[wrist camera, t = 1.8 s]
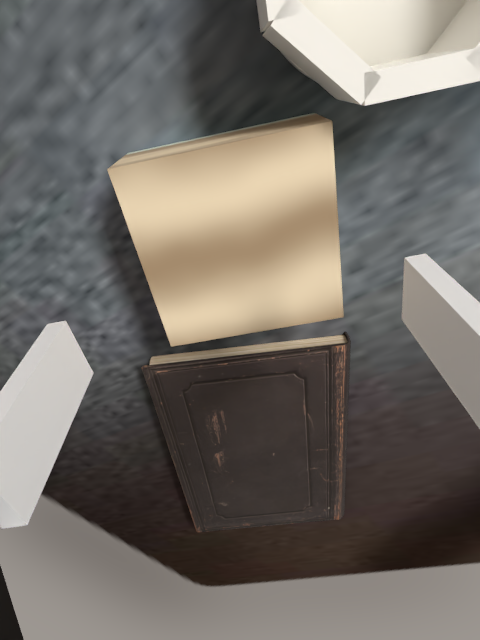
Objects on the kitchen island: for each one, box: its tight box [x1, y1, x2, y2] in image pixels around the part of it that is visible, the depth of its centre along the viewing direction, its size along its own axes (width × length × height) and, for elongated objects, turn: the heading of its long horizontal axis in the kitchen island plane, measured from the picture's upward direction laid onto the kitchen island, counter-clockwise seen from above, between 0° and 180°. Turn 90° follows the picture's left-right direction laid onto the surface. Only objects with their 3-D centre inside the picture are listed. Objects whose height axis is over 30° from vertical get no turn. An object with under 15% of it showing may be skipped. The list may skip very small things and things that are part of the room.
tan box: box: [107, 114, 344, 347], centre depth 23 cm, size 11×11×4 cm
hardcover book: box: [142, 332, 351, 532], centre depth 36 cm, size 16×23×2 cm
